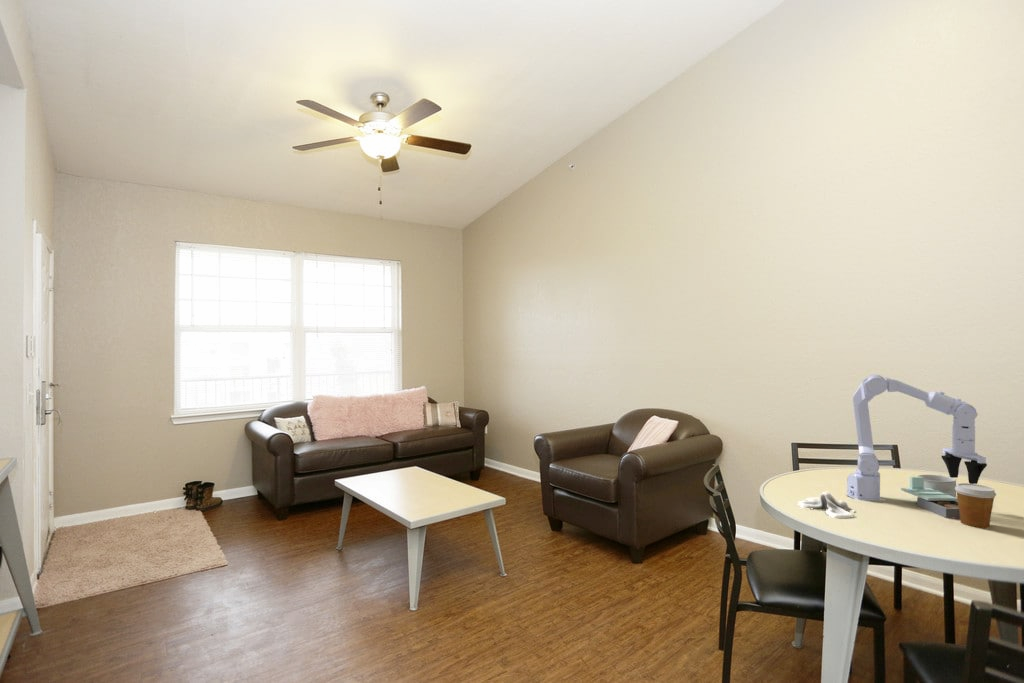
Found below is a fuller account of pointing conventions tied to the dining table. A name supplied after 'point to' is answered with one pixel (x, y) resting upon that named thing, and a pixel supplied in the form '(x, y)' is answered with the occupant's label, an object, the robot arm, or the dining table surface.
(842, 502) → the cloth
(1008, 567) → the dining table surface
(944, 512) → the tub
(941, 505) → the walnut block
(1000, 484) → the dining table surface
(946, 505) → the walnut block
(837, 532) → the dining table surface
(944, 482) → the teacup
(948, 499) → the lid
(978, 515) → the disposable coffee cup
